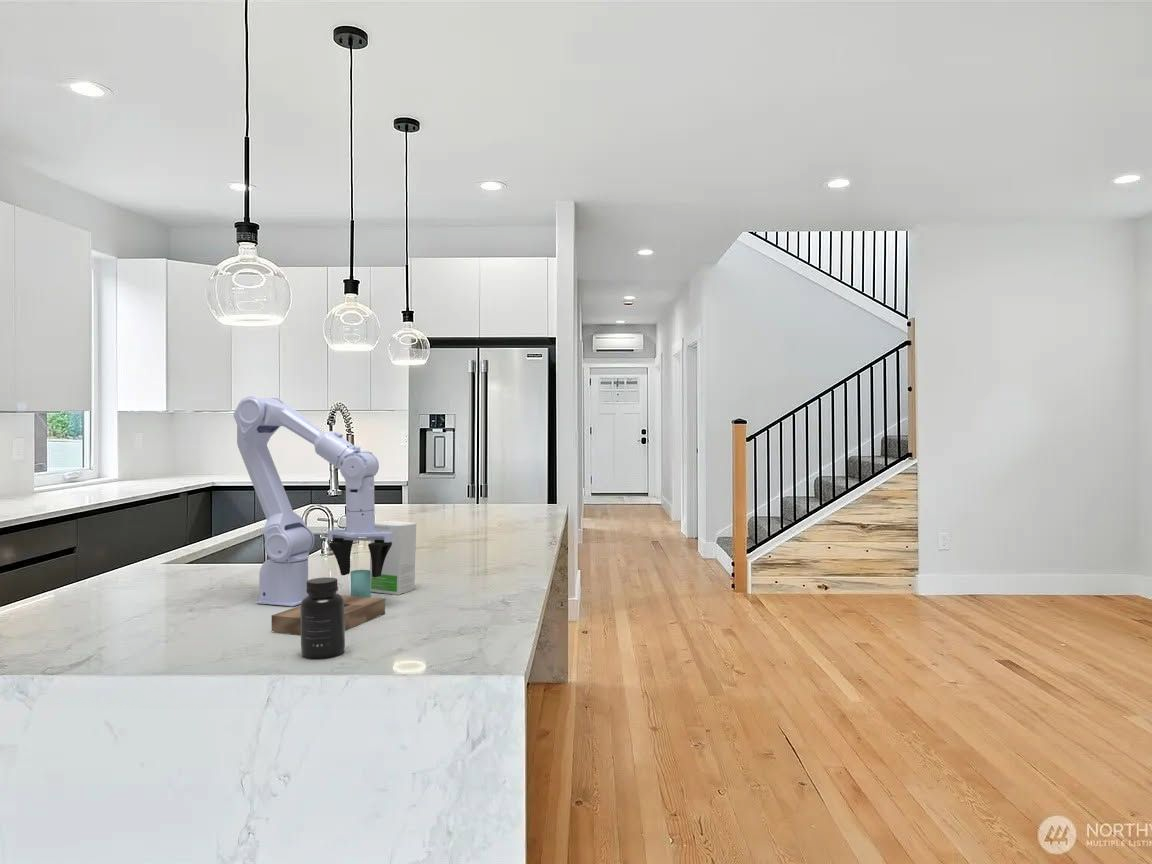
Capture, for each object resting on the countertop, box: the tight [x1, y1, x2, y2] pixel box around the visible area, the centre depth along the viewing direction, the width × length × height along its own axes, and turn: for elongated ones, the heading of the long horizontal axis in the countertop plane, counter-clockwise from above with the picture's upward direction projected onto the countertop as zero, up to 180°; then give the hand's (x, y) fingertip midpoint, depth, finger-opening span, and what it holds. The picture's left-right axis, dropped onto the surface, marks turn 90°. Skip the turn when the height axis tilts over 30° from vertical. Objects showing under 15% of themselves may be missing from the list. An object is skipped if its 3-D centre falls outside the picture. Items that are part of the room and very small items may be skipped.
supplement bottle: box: [299, 576, 346, 660], centre depth 123 cm, size 7×7×12 cm
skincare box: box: [369, 519, 417, 596], centre depth 171 cm, size 8×7×16 cm
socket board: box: [271, 594, 386, 636], centre depth 143 cm, size 12×18×3 cm, turn 162°
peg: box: [350, 569, 372, 598], centre depth 157 cm, size 4×4×7 cm
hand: (360, 575), depth 157 cm, fingers open, 7 cm apart
